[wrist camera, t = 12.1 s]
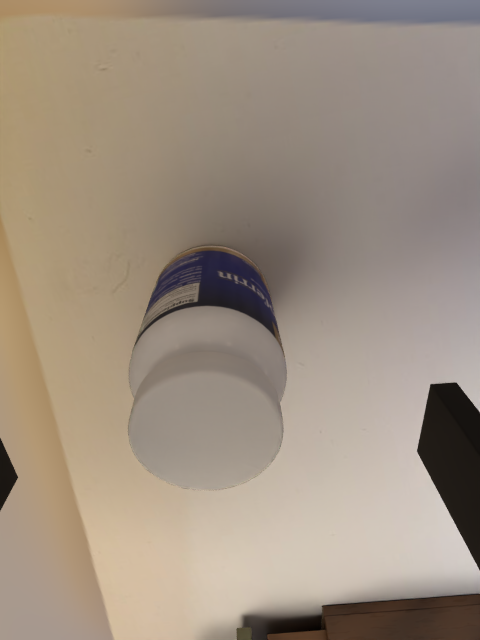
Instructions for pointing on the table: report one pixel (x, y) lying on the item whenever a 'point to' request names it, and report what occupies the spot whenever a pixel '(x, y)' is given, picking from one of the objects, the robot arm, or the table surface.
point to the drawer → (284, 635)
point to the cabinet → (405, 619)
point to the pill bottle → (207, 373)
